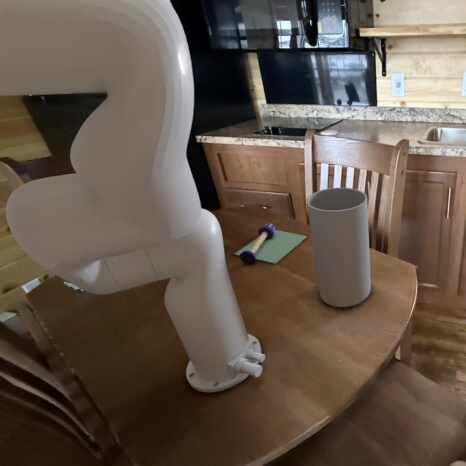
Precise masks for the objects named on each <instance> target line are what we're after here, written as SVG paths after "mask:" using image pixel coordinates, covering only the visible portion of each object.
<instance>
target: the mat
mask: <svg viewBox="0 0 466 466" xmlns="http://www.w3.org/2000/svg"><path fill="white" fill-rule="evenodd" d="M259 237H260V236H258V237H257V238H255V239H254V240H252V241H251V242H249V243H248V244H247V245H245V246H243V247H242V248H241V249H239V250H238V251H236V252H235V253H234V256H238V257H240V254H241V253H242V252H243V251H246V250H248V251H249V250H250V249H251V247H253V245H254V244H255V242H256V241H257V239H258V238H259ZM307 237H308V236H307V235H302V234H297V233H293V232H287V231H283V230H278V229H275V231H274V236H273V237H272V238H271V239H268V240H267V239H265V240H264V241H263V242H262V243H261V245H260V246H259V248H258V249H257V251H256V252H255V256H256V260H255V261H259V262H263V263H269V264H271V265H276V264H277V263H279V261H280V260H282V259H283V258H284V257H285V256H286V255H288V254H289V253H290V252H291V251H293V250H294V249H295V248H296V247H297V246H298V245H300V244H301V243H302V242H303V241H304V240H306V238H307Z"/></svg>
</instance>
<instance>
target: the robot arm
mask: <svg viewBox="0 0 466 466" xmlns="http://www.w3.org/2000/svg"><path fill="white" fill-rule="evenodd" d="M194 82H195V81H194V73H193V65H192V59H191V54H190V49H189V44H188V41H187V36H186V34H185V30H184V27H183V24H182V22H181V20H180V18H179V15H178V13H177V12H176V10H175V8H174V7H173V4H172V2H171V0H0V97H10V96H13V97H16V96H41V95H43V96H44V95H67V94H68V95H69V94H70V95H71V94H94V93H95V94H97V93H99V94H101V93H106V94H107V97H106V98H105V99H104V100H103V101H102V102H101V103H100V104H99V105H98V106H97V108H95V109H94V110H93V112H91V113H90V115H89V116H88V117H87V118H86V119H85V121H84V122H83V124H82V125H81V127H80V128H79V130H78V132H77V134H76V135H75V137H74V139H73V141H72V144H71V147H70V150H69V151H70V153H69V159H70V163H71V166H72V168H73V170H74V171H75V173H69V174H61V175H53V176H48V177H42V178H37V179H34V180H31V181H28V182H25V183H23V184H21V185H20V186H18V187H17V188H15V189H14V190H13V192H11V193H10V195H9V197H8V199H7V201H6V205H5V219H6V222H7V225H8V227H9V230H10V233H11V235H12V237H13V238H14V240H15V242H16V243H17V244H18V246H19V247H20V249H22V251H23V252H24V253H25V255H27V256H28V257H29V258H30V259H31V260H32V261H33V262H35V263H36V264H37V265H39V266H41V267H42V268H43V269H44V270H46V271H48V272H50V273H52V274H53V275H55V276H57V277H59V278H61V279H62V280H64V281H66V282H67V283H69V284H71V285H73V286H75V287H76V288H79V289H80V290H82V291H84V292H87V293H89V294H93V295H101V296H102V295H110V294H115V293H119V292H123V291H127V290H131V289H133V288H137V287H142V286H144V285H148V284H151V283H155V282H158V281H164V280H167V279H169V282H168V283H167V285H166V288H165V291H164V297H163V302H164V306H165V309H166V311H167V314H168V315H169V318H170V320H171V322H172V324H173V326H174V328H175V330H176V333H177V335H178V337H179V339H180V341H181V343H182V346H183V347H184V349H185V351H186V354H187V356H188V358H189V362H188V364H187V366H186V369H185V376H186V377H185V378H186V380H187V382H188V384H189V385H190V386H191V387H192V388H193V389H194V390H196V391H197V392H201V393H216V392H217V393H218V392H221V391H224V390H227V389H231V388H232V387H234V386H236V385H238V384H239V383H242V381H245V379H247V378H248V377H249V376H251V377H254V378H259V377H260V376H261V374H262V373H263V370H264V368H263V366H262V365H260V364H259V363H263V362H264V361H265V360H266V354H264V353H262V351H263V350H262V346H261V344H260V341H259V339H258V338H256V337H255V336H254V335H253V334H250V333H248V331H247V328H246V325H245V322H244V319H243V316H242V312H241V310H240V306H239V302H238V301H237V297H236V293H235V291H234V288H233V284H232V281H231V277H230V273H229V270H228V266H227V262H226V256H225V255H226V254H225V248H224V247H225V246H224V239H223V237H224V236H223V233H222V227H221V225H220V222H219V220H218V219H217V217H216V215H215V214H213V213H212V212H211V211H209V210H207V209H205V208H202V204H201V199H200V196H199V192H198V188H197V186H196V182H195V179H194V177H193V174H192V171H191V168H190V165H189V162H188V158H187V150H188V149H187V148H188V143H189V138H190V135H191V129H192V125H193V118H194V108H195V83H194Z"/></svg>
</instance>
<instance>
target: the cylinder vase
mask: <svg viewBox="0 0 466 466" xmlns="http://www.w3.org/2000/svg"><path fill="white" fill-rule="evenodd" d="M306 209H307V215H308V222H309V229H310V237H311V244H312V251H313V256H314V263H315V270H316V276H317V277H316V278H317V285H318V292H319V296H320V298H321V300H322V301H323V302H324V303H326V304H327V305H329V306H331V307H334V308H335V307H336V308H349V307H354V306H356V305H358V304H361V303H362V302H364V301H365V300H366V299H367V298H368V297H369V295H370V293H371V289H372V285H371V284H372V283H371V257H370V255H371V254H370V235H369V232H370V231H369V210H368V209H369V208H368V196H367V193H365V192H363V191H362V190H359V189H357V188H351V187H331V188H324V189H321V190H317V191H315V192H313V193H311V194H309V196H307V198H306Z"/></svg>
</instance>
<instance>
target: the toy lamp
mask: <svg viewBox="0 0 466 466" xmlns="http://www.w3.org/2000/svg"><path fill="white" fill-rule="evenodd" d="M275 230H276V227H275V225H274V224H273V223H265V224H264V225H262V226H261V227H259V229H258V230H257V233H258V235H259V236H258V237H259V238H258V237H257V238H258V239H257V238H256V239H257V241H256V242H255V244H254V245H253V247H251V249H250V250H249V251H248V250H246V251H243V252H242V253H241V254H240V256H239V259H240V260H241V261H242V262H243V263H245V264H248V265H252V264H254V263H255V262H256V261H257V260H256V256H255V252H256V251H257V249H258V248H259V246H260V245H261V243H262V242H263V241H264V240H265V239H267V240H268V239H271V238H272V237H273V236H274V231H275Z"/></svg>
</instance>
